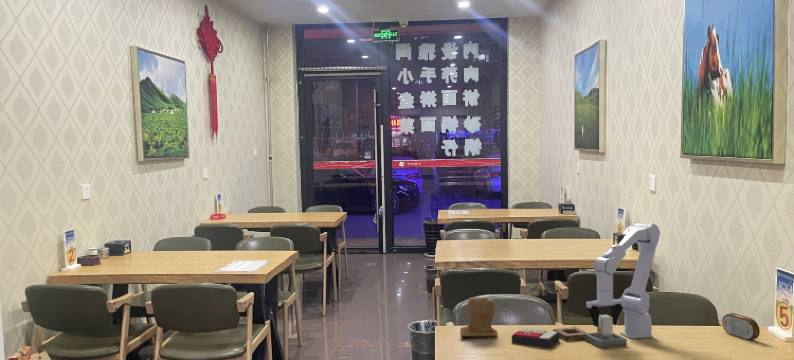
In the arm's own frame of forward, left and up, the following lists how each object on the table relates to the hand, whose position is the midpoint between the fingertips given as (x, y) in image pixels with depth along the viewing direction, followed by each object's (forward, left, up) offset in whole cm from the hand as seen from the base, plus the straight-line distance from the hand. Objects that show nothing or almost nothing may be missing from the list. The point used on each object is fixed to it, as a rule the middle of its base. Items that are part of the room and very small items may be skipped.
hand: (605, 325), depth 236 cm
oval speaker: (-53, +8, -7) cm, 54 cm away
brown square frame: (+8, -11, -7) cm, 15 cm away
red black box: (+24, -9, -7) cm, 27 cm away
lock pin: (0, 0, -6) cm, 6 cm away
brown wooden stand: (+42, -23, -7) cm, 48 cm away
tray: (0, 0, -7) cm, 7 cm away
